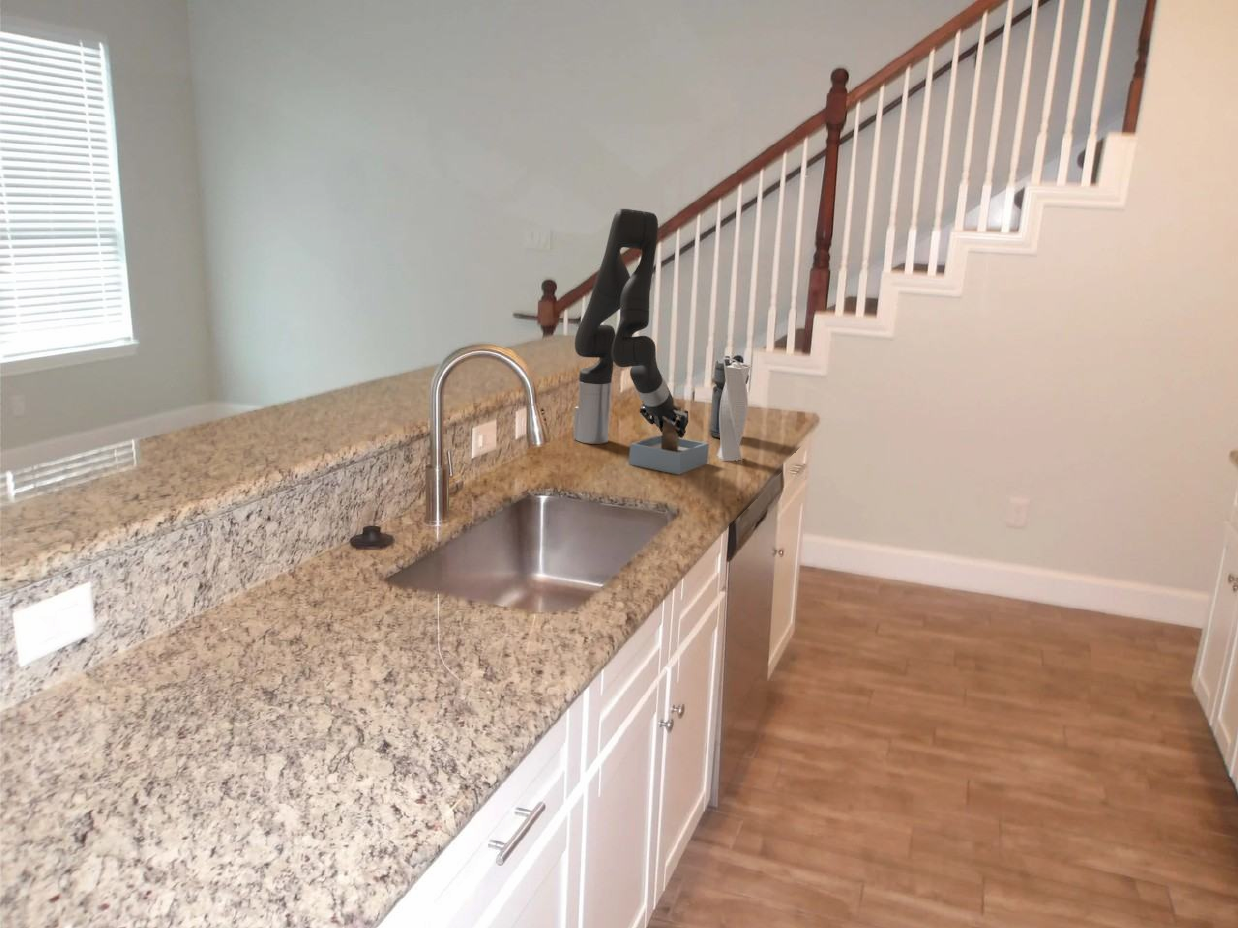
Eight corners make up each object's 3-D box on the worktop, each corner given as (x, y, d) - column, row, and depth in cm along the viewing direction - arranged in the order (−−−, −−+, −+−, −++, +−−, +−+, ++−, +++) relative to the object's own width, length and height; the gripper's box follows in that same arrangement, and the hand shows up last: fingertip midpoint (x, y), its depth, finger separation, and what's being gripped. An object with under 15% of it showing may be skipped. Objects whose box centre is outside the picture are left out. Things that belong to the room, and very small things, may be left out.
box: (628, 464, 255) (630, 443, 254) (658, 453, 269) (660, 434, 267) (679, 474, 248) (680, 453, 247) (707, 463, 261) (708, 443, 260)
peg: (657, 458, 257) (661, 406, 254) (665, 455, 261) (669, 404, 257) (672, 461, 255) (676, 408, 252) (680, 458, 259) (683, 406, 255)
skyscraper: (719, 462, 263) (728, 359, 256) (710, 455, 270) (718, 355, 263) (747, 462, 265) (756, 360, 258) (736, 455, 272) (745, 355, 265)
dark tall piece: (749, 435, 299) (757, 354, 293) (734, 442, 288) (742, 358, 282) (718, 430, 304) (725, 350, 298) (703, 437, 292) (709, 354, 286)
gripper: (685, 386, 243) (703, 426, 256) (636, 378, 250) (656, 418, 263) (673, 409, 240) (692, 449, 253) (624, 401, 247) (645, 440, 260)
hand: (674, 433), depth 258 cm, fingers closed on peg, 4 cm apart
